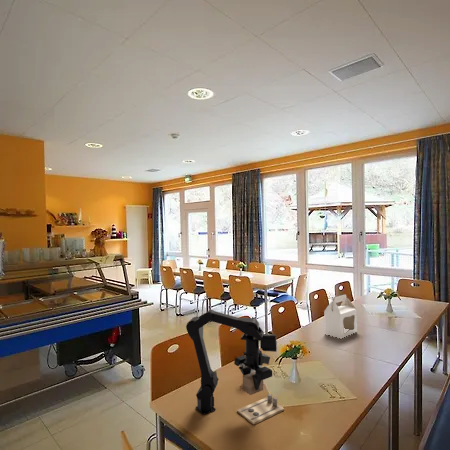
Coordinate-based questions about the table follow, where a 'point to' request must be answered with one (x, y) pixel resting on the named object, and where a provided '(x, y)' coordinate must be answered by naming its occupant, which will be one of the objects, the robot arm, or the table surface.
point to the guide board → (261, 409)
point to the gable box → (340, 317)
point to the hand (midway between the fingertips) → (252, 387)
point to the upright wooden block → (250, 384)
